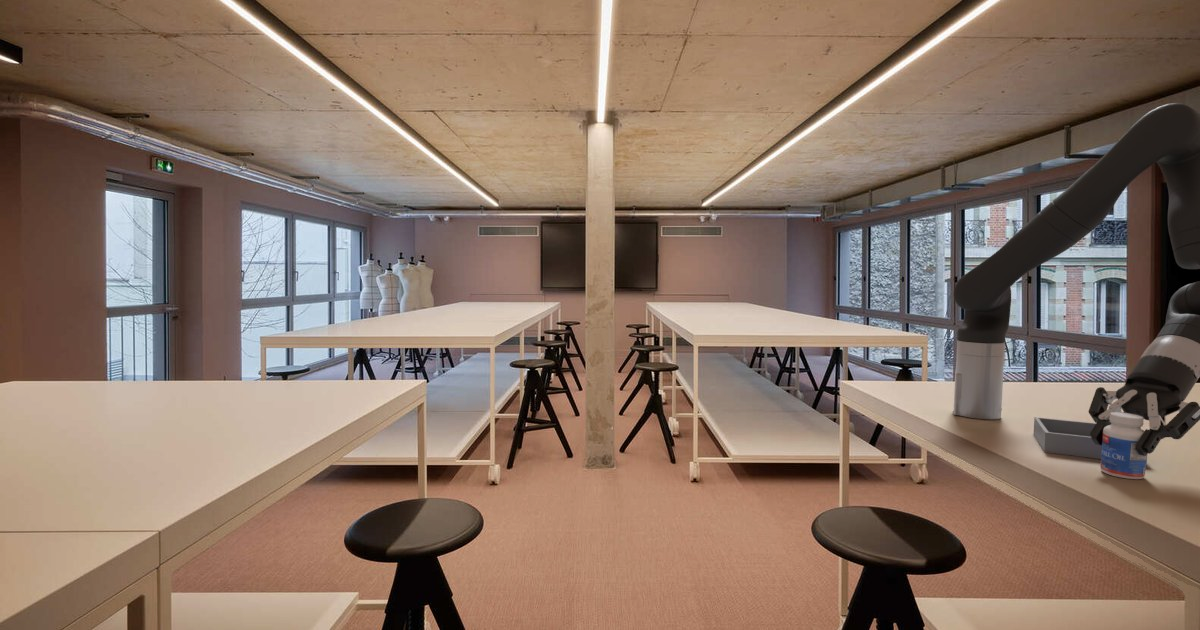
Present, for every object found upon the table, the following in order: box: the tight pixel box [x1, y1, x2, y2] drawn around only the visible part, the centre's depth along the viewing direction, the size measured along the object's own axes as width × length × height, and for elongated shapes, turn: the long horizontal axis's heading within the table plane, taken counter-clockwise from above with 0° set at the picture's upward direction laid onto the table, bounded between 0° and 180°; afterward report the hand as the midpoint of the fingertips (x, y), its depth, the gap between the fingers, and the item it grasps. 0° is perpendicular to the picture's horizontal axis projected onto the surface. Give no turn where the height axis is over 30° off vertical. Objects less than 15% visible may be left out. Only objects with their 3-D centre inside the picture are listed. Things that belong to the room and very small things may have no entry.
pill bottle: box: [1100, 411, 1148, 480], centre depth 94 cm, size 6×5×10 cm
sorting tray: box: [1033, 416, 1148, 466], centre depth 109 cm, size 14×14×4 cm
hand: (1117, 446), depth 93 cm, fingers closed on pill bottle, 5 cm apart
